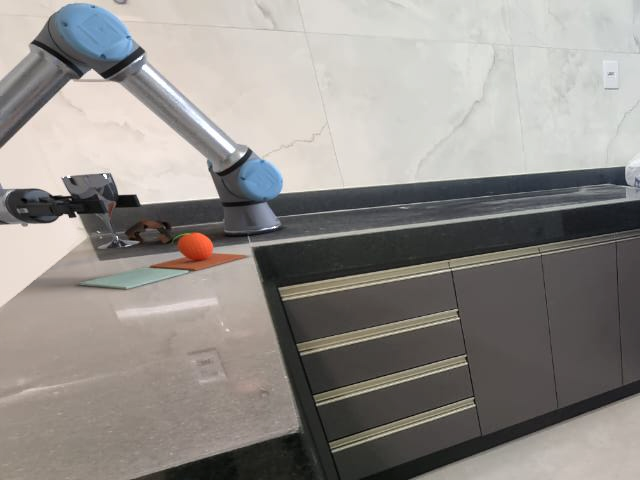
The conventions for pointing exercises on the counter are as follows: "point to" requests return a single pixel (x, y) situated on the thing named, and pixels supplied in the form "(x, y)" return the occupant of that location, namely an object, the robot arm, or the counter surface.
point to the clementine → (195, 246)
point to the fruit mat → (197, 262)
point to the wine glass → (98, 190)
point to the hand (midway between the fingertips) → (120, 203)
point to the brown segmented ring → (146, 223)
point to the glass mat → (134, 278)
